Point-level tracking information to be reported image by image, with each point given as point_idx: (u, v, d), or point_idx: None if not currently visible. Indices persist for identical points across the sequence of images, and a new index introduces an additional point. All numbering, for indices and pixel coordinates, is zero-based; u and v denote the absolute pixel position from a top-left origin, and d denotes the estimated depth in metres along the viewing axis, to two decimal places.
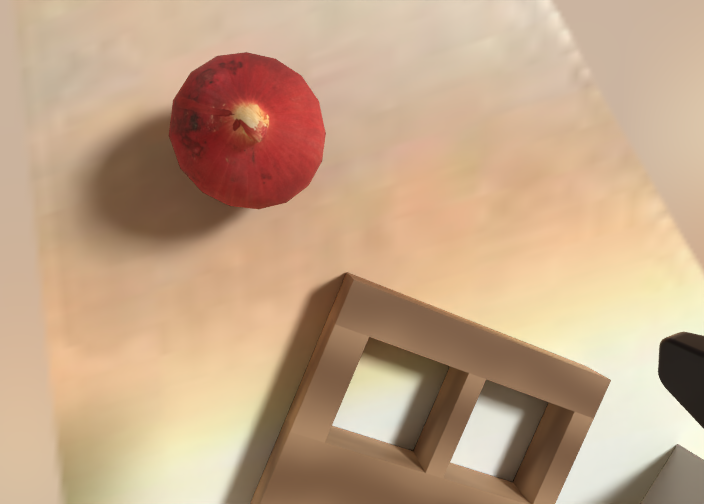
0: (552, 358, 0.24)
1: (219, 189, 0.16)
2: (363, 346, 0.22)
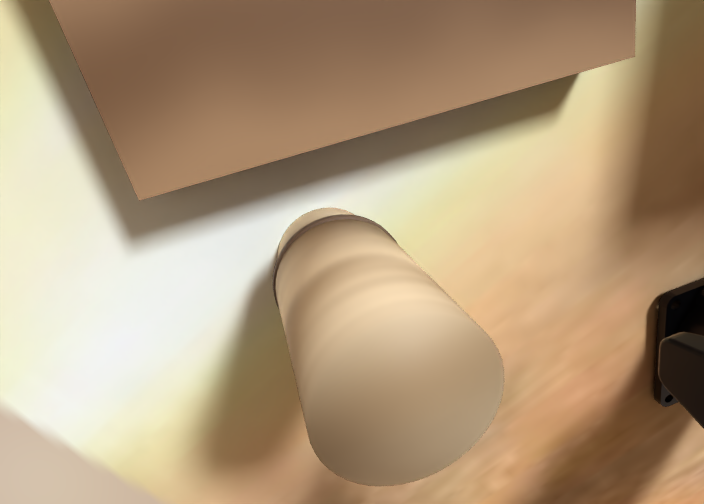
0: None
1: None
2: None
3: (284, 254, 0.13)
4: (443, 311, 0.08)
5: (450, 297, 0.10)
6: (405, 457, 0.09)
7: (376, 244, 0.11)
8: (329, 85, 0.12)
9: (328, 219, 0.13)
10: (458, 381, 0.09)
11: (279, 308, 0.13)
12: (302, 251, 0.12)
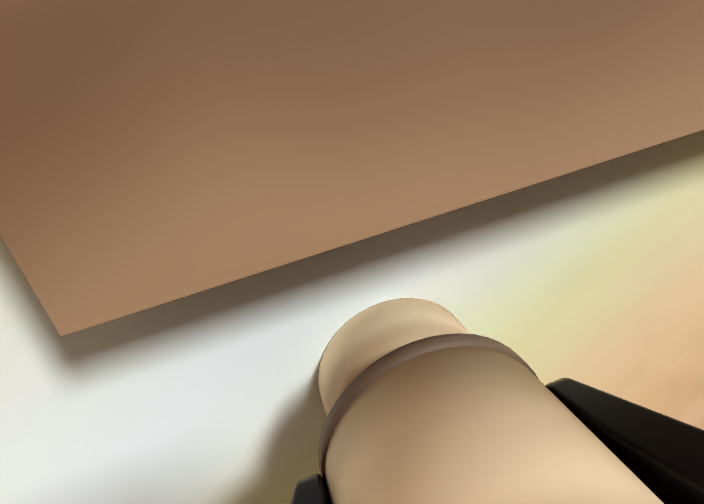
0: None
1: None
2: None
3: (344, 414, 0.07)
4: None
5: None
6: None
7: (560, 444, 0.05)
8: (445, 102, 0.06)
9: (425, 349, 0.07)
10: None
11: None
12: (388, 433, 0.06)
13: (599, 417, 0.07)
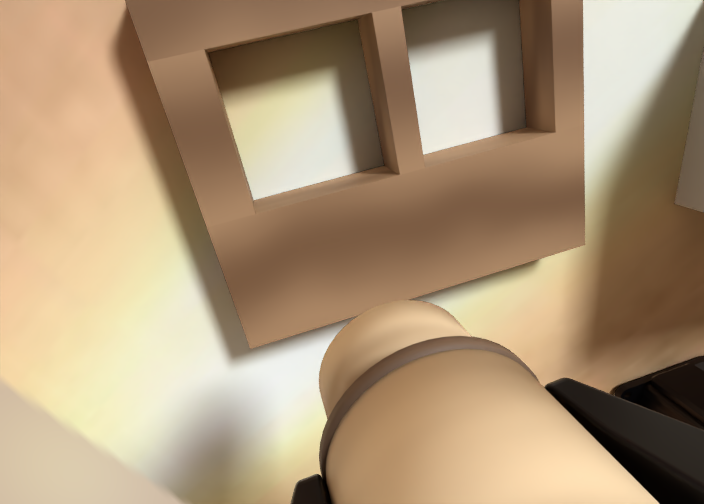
0: None
1: None
2: (207, 68, 0.15)
3: (344, 416, 0.07)
4: None
5: None
6: None
7: (560, 448, 0.05)
8: (377, 275, 0.18)
9: (426, 351, 0.07)
10: None
11: None
12: (388, 436, 0.06)
13: (599, 417, 0.07)
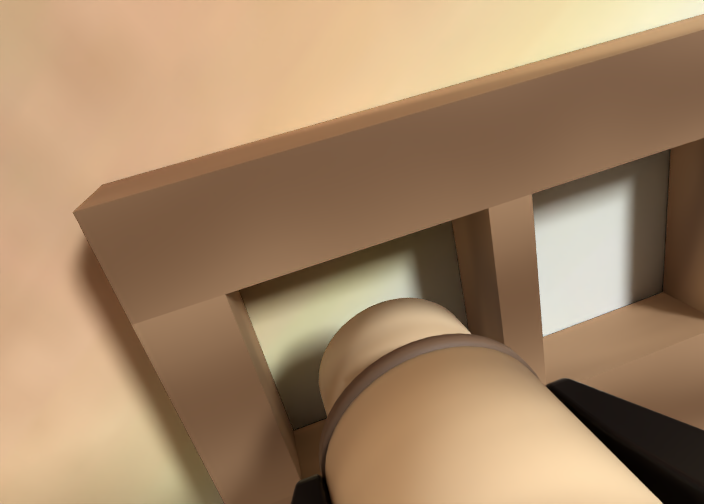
0: (658, 46, 0.09)
1: None
2: (231, 318, 0.09)
3: (344, 414, 0.07)
4: None
5: None
6: None
7: (559, 444, 0.05)
8: None
9: (426, 348, 0.07)
10: None
11: None
12: (389, 434, 0.06)
13: (599, 417, 0.07)
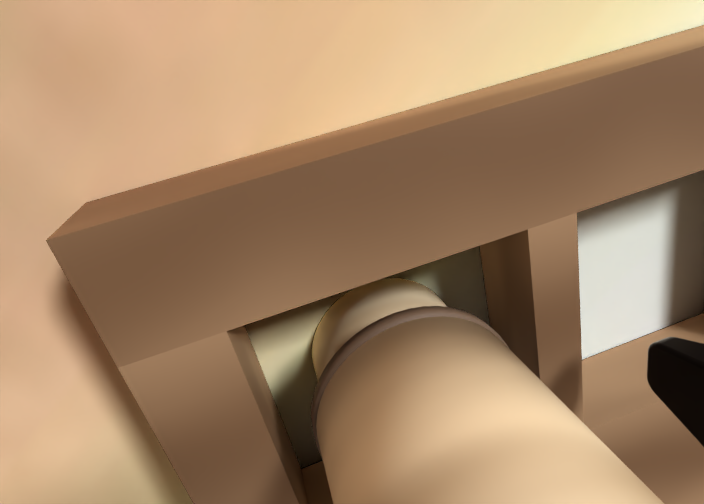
0: None
1: None
2: (233, 357, 0.08)
3: (333, 376, 0.08)
4: None
5: None
6: None
7: (514, 392, 0.06)
8: None
9: (405, 318, 0.08)
10: None
11: (327, 474, 0.08)
12: (371, 388, 0.07)
13: None
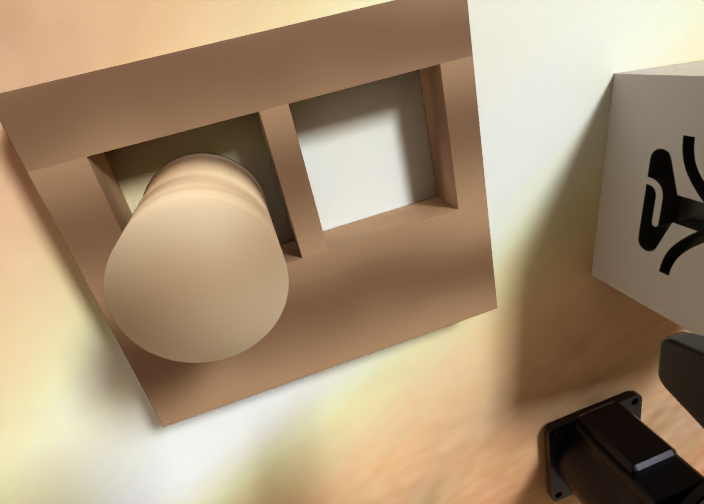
0: (359, 11, 0.15)
1: None
2: (92, 173, 0.15)
3: (148, 186, 0.15)
4: (220, 205, 0.10)
5: (255, 207, 0.12)
6: (205, 337, 0.11)
7: (213, 170, 0.13)
8: (287, 351, 0.19)
9: (188, 156, 0.15)
10: (243, 269, 0.11)
11: None
12: (155, 180, 0.14)
13: None
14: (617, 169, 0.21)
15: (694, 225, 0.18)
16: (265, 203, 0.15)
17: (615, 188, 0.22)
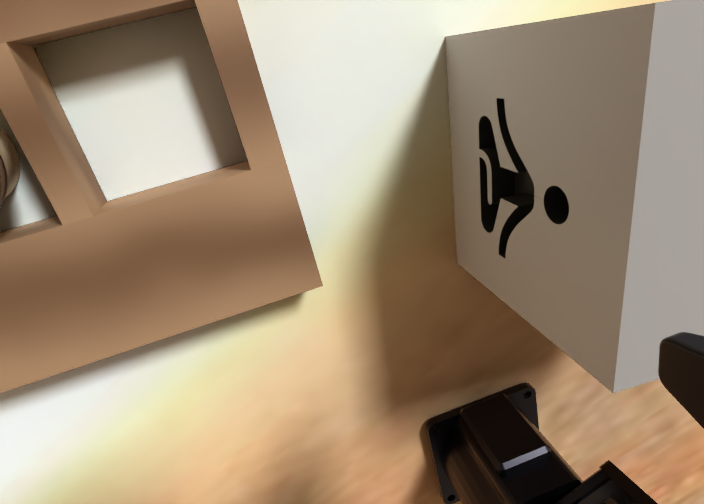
0: None
1: None
2: None
3: None
4: None
5: None
6: None
7: None
8: (66, 332, 0.17)
9: None
10: None
11: None
12: None
13: None
14: (459, 143, 0.19)
15: (519, 200, 0.16)
16: None
17: (460, 164, 0.20)
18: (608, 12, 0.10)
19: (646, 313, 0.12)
